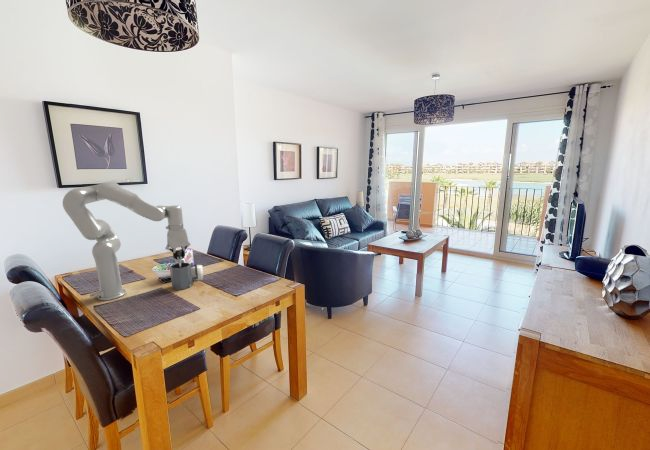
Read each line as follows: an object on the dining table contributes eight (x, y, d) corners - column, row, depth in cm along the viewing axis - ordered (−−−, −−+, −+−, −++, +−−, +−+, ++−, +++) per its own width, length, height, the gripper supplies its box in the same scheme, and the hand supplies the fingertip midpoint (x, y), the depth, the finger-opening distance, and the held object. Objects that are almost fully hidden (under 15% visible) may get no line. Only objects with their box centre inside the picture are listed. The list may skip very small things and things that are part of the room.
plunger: (177, 286, 163) (173, 253, 160) (173, 282, 169) (169, 250, 165) (191, 282, 169) (187, 250, 165) (186, 279, 174) (183, 248, 170)
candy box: (185, 279, 180) (182, 254, 177) (175, 278, 181) (173, 254, 177) (195, 271, 194) (193, 248, 191) (186, 271, 194) (184, 248, 191)
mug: (193, 281, 176) (192, 269, 174) (188, 277, 183) (187, 265, 181) (205, 278, 181) (204, 266, 179) (199, 274, 187) (198, 263, 186)
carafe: (176, 291, 162) (173, 269, 159) (170, 286, 169) (167, 265, 167) (201, 284, 172) (199, 264, 169) (194, 279, 179) (192, 260, 176)
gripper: (162, 230, 154) (166, 263, 157) (193, 226, 165) (196, 256, 169) (158, 228, 159) (162, 259, 163) (188, 224, 170) (191, 253, 174)
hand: (179, 257), depth 166 cm, fingers closed on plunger, 3 cm apart
